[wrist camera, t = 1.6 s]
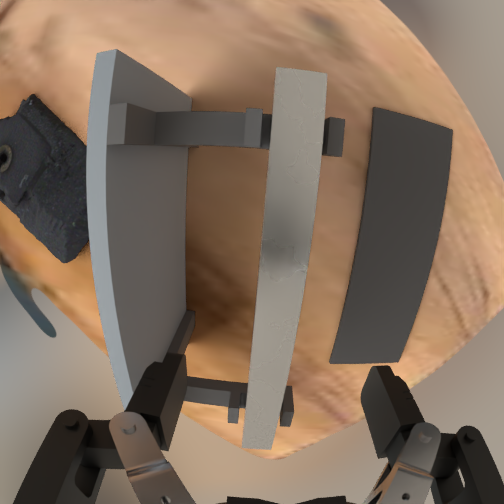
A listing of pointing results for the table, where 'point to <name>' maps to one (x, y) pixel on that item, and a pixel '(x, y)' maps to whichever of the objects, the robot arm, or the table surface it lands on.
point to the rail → (284, 244)
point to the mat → (394, 237)
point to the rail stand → (156, 216)
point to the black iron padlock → (45, 178)
